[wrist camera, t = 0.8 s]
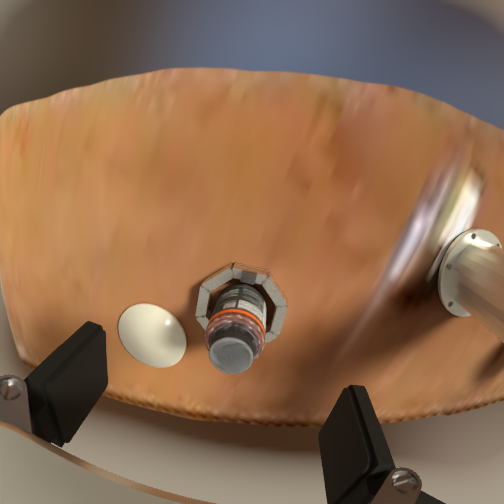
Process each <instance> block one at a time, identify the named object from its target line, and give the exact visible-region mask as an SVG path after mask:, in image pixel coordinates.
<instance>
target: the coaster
mask: <svg viewBox="0 0 504 504" xmlns="http://www.w3.org/2000/svg"><path fill="white" fill-rule="evenodd" d="M118 328H119V335H120V339H121V341H122V343H123V345H124V347H125V348H126V349H127V351H128V352H129V353H130V354H131V355H132V356H133V357H134V358H136V359H137V360H138V361H140V362H142V363H144V364H146V365H149V366H152V367H158V368H163V367H169V366H172V365H174V364H176V363H177V362H179V361H180V359H181V358H182V357H183V355H184V353H185V350H186V346H187V339H186V334H185V331H184V329H183V327H182V325H181V324H180V322H179V321H178V320H177V318H176V317H175V316H174V315H173V314H172V313H170V312H169V311H168V310H166V309H164V308H163V307H160V306H158V305H155V304H151V303H138V304H135V305H132V306H130V307H129V308H128V309H127V310H126V311H125V312H124V313H123V314H122V316H121V318H120V320H119V327H118Z"/></svg>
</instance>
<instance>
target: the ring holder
mask: <svg viewBox="0 0 504 504" xmlns="http://www.w3.org/2000/svg"><path fill="white" fill-rule="evenodd" d="M233 278H235V279H240V282H244V283H248V284H252V285H255V283H257V284H261V285H263V287H264V288H265V290H266V291H267V293H268V295H269V296H270V298H271V299H272V301H273V302H274V304H275V309H274V312H273V316H272V319H271V323H270V324H268V325H266V333H265V344H266V343H268V342H270V341H272V340H274V339H276V338H277V335H280V332H281V329H282V325H283V322H284V319H285V315H286V312H287V309H288V303H287V297H286V295H285V294H284V292H283V291H282V289H281V288H280V286H279V285H278V283H277V281H276V280H275V278H274V277H273V275H272V274H271V272H269V273H267V269H262V268H258V267H254V266H250V265H245V264H241V263H237V262H235V264H234V265H233V264H232V263H231V264H229V265H227V266H226V267H224V268H222V269H221V270H219V271H217V272H216V273H214V274H212V275H211V276H209V277H207V278H206V279H205V280H204V282H203V283H202V285H201V286H200V291H199V296H198V303H197V309H196V315H195V316H197V318H196V319H197V320H198V322H199V323H200V324H201V326H202V327H203V328H204V330H206V328H207V325H208V323H209V320H210V318H211V315H212V313H211V311H210V310H209V305H210V300H211V294H212V290H214V289H215V288H217V287H219V286H221V285H222V284H224V283H226V282H227V281H229V280H231V279H233Z"/></svg>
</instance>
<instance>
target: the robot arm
mask: <svg viewBox="0 0 504 504" xmlns="http://www.w3.org/2000/svg"><path fill="white" fill-rule="evenodd" d="M438 293H439V297H440V300H441V302H442V304H443V305H444V307H445V308H446V309H447V310H448V311H449V312H450V313H452V314H454V315H456V316H460V317H467V316H471V315H472V316H473V317H474V318H475V319H476V320H478V321H479V322H480V323H481V324H482V325H483V326H485V327H486V328H487V329H488V330H489V331H490V332H492V333H493V334H494V335H495V336H496V337H497V338H498V339H499V340H501V341H502V342H503V343H504V249H502V247H501V244H500V242H499V240H498V238H497V237H496V236H495V235H494V234H493V233H491V232H490V231H488V230H485V229H480V228H474V229H470V230H468V231H465V232H464V233H462V234H461V235H459V236H458V237H457V238H456V239H455V240H454V241H453V243H452V244H451V245H450V247H449V248H448V250H447V252H446V254H445V255H444V257H443V260H442V263H441V266H440V270H439V274H438ZM107 384H108V375H107V357H106V332H105V331H104V330H103V328H102V326H101V325H98V324H96V323H93V322H90V321H87V322H86V323H85V324H84V325H83V326H81V327H80V328H79V329H78V330H77V331H76V332H75V333H74V334H73V335H72V336H70V337H69V338H68V339H67V340H66V341H65V342H64V343H63V344H62V345H61V346H59V347H58V348H57V349H56V350H55V351H54V352H53V353H52V354H50V355H49V356H48V357H47V358H46V359H45V360H44V361H43V362H42V363H41V364H40V365H39V366H38V367H37V368H36V369H35V370H34V371H33V372H32V373H31V374H30V375H29V376H28V377H27V378H26V379H25V380H23V379H21V378H20V377H18V376H16V375H10V374H8V375H3V376H0V504H215V503H210V502H205V501H201V500H196V499H192V498H187V497H184V496H180V495H176V494H172V493H169V492H165V491H162V490H159V489H155V488H152V487H149V486H146V485H143V484H140V483H137V482H134V481H132V480H129V479H126V478H124V477H121V476H118V475H116V474H113V473H111V472H108V471H106V470H104V469H101V468H99V467H97V466H95V465H92V464H90V463H88V462H86V461H84V460H81V459H80V458H78V457H75V456H73V455H71V454H69V453H67V452H65V451H64V450H62V449H60V448H58V447H56V446H54V445H52V444H51V442H52V443H54V444H56V445H58V446H59V447H62V446H63V445H64V443H65V442H66V443H69V442H70V441H71V439H72V438H73V436H74V434H75V433H76V432H77V430H78V429H79V427H80V426H81V424H82V422H83V421H84V420H85V418H86V417H87V415H88V414H89V412H90V411H91V409H92V408H93V406H94V405H95V403H96V402H97V401H98V399H99V398H100V396H101V395H102V393H103V392H104V391H105V389H106V387H107ZM318 439H319V446H320V452H321V459H322V467H323V475H324V482H325V490H326V497H327V503H328V504H445V503H443V502H442V501H440V500H438V499H436V498H434V497H432V496H430V495H428V494H426V493H425V492H423V491H421V488H422V481H421V479H420V477H419V475H418V474H417V473H416V472H414V471H413V470H411V469H409V468H403V467H400V468H396V467H395V465H394V462H393V459H392V456H391V453H390V450H389V448H388V445H387V442H386V439H385V437H384V434H383V431H382V428H381V426H380V423H379V421H378V419H377V416H376V414H375V411H374V408H373V406H372V403H371V401H370V398H369V396H368V393H367V391H366V388H365V387H364V386H358V385H350V386H348V388H344V389H343V391H342V393H341V395H340V397H339V399H338V400H337V402H336V404H335V406H334V408H333V409H332V411H331V413H330V415H329V417H328V418H327V420H326V422H325V424H324V425H323V427H322V429H321V430H320V433H319V438H318Z"/></svg>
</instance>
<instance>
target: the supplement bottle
mask: <svg viewBox="0 0 504 504" xmlns="http://www.w3.org/2000/svg"><path fill="white" fill-rule="evenodd" d="M266 318H267V317H266V303H265V299H264V297H263V295H262V294H261V293H260V292H259V291H258V290H257V289H256V288H254V287H252V286H250V285H247V284H235V285H232V286H229V287H228V288H226V289H225V290H224V291H223V292H222V293H221V294H220V296H219V298H218V301H217V303H216V306H215V308H214V310H213V313H212V315H211V318H210V320H209V323H208V325H207V328H206V330H205V338H204V339H205V344H206V347H207V349H208V351H209V358H210V361H211V363H212V364H213V365H214V366H215V367H216V368H217V369H219V370H220V371H222V372H225V373H229V374H237V373H241V372H244V371H246V370H247V369H248V368H249V367H250V366H251V365H252V362H253V361H254V360H255V359H257V358H258V357H259V356H260V354H261V353H262V351H263V349H264V345H265V333H266Z"/></svg>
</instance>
